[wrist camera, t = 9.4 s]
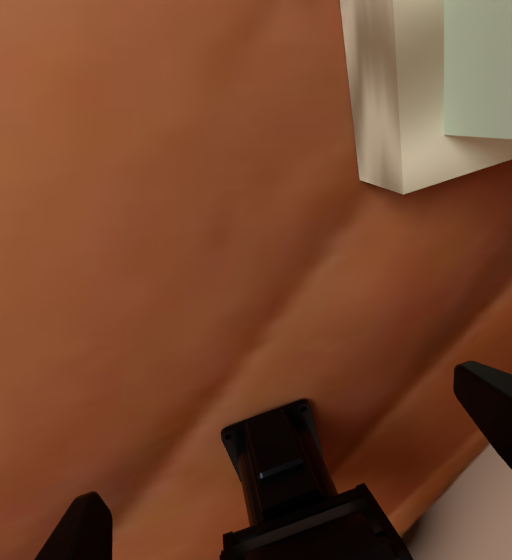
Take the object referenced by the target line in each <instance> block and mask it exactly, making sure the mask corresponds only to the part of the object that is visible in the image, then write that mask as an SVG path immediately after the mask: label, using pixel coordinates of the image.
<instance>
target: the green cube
mask: <svg viewBox="0 0 512 560" xmlns="http://www.w3.org/2000/svg"><path fill="white" fill-rule="evenodd" d="M444 135H455V136H470V137H486V138H502V139H512V0H444Z"/></svg>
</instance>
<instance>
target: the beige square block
mask: <svg viewBox="0 0 512 560" xmlns="http://www.w3.org/2000/svg"><path fill="white" fill-rule="evenodd" d="M340 7H341V16H342V25H343V34H344V43H345V52H346V61H347V70H348V79H349V88H350V97H351V106H352V115H353V124H354V133H355V142H356V151H357V160H358V169H359V178H360V180H361V181H364V182H367V183H370V184H373V185H376V186H379V187H382V188H385V189H388V190H391V191H394V192H397V193H400V194H403V195H404V194H407V193H410V192H413V191H416V190H419V189H422V188H425V187H428V186H431V185H434V184H437V183H441V182H444V181H447V180H450V179H453V178H456V177H459V176H462V175H465V174H468V173H471V172H474V171H477V170H481V169H484V168H487V167H490V166H493V165H496V164H499V163H502V162H505V161H508V160H511V159H512V139H502V138H486V137H470V136H455V135H444V0H340Z"/></svg>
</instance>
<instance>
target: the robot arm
mask: <svg viewBox="0 0 512 560" xmlns="http://www.w3.org/2000/svg"><path fill="white" fill-rule="evenodd" d="M453 389H454V393H455V396H456V397H457V399H458V400H459V402H460V403H461V404H462V406H463V407H464V409H465V410H466V411H467V413H468V414H469V415H470V417H471V418H472V419H473V421H474V422H475V423H476V425H477V426H478V428H479V429H480V430H481V432H482V433H483V434H484V436H485V437H486V438H487V440H488V441H489V442H490V444H491V445H492V446H493V448H494V449H495V450H496V452H497V453H498V454H499V455H500V456H501V458H502V459H503V460H504V461H505V462H506V463H507V465H508V466H509V467H510V468H511V469H512V375H511V374H509V373H506V372H503V371H500V370H497V369H495V368H492V367H489V366H486V365H484V364H481V363H478V362H475V361H467V362H464V363H461V364H458V365H456V367H455V369H454V385H453ZM303 406H304V407H303ZM301 407H302V408H301ZM228 434H229V435H228ZM221 439H222V441H223V444H224V446H225V448H226V450H227V452H228V455H229V457H230V459H231V461H232V464H233V466H234V468H235V470H236V472H237V475H238V477H239V479H240V481H241V483H242V488H243V493H244V498H245V503H246V508H247V514H248V519H249V524H250V527H248V528H245V529H242V530H239V531H237V532H234V533H233V532H232V531H231V532H229V533H226V534H223V548H224V550H222V551H221V555H220V556H219V557H220V560H413V558H412V556H411V554H410V553H409V551H408V549H407V547H406V546H405V544H404V542H403V541H402V539H401V538H400V536H399V535H398V533H397V532H396V530H395V529H394V527H393V525H392V524H391V522H390V521H389V519H388V518H387V516H386V515H385V513H384V512H383V510H382V509H381V507H380V506H379V504H378V503H377V501H376V500H375V498H374V497H373V495H372V494H371V492H370V491H369V489H368V488H367V486H366V485H365V483H363V484H360V485H357V486H356V488H354V489H351V490H349V491H346V492H343V493H341V494H338V492H337V490H336V487H335V485H334V483H333V481H332V478H331V476H330V474H329V472H328V469H327V467H326V465H325V463H324V460H323V454H322V451H321V447H320V443H319V439H318V435H317V431H316V427H315V423H314V419H313V415H312V411H311V407H310V405H309V403H308V401H307V400H304V399H303V400H299V401H296V402H294V403H291V404H288V405H286V406H283V407H280V408H277V409H275V410H272V411H269V412H267V413H264V414H261V415H258V416H256V417H253V418H250V419H248V420H245V421H242V422H239V423H237V424H234V425H231V426H229V427H226V428H224V429H223V430H222V431H221ZM34 560H112V515H111V512H110V510H109V508H108V507H107V506H106V504H105V503H104V501H103V500H102V498H101V497H100V496H99V494H98V493H97V492H95V491H92V492H89V493H86V494H83V495H80V496H78V497H77V498H75V500H74V501H73V502H72V503H71V505H70V506H69V508H68V509H67V511H66V512H65V514H64V515H63V517H62V518H61V520H60V521H59V523H58V525H57V526H56V528H55V529H54V531H53V532H52V534H51V535H50V537H49V538H48V540H47V541H46V543H45V544H44V546H43V547H42V549H41V550H40V552H39V553H38V555H37V556H36V558H35V559H34Z"/></svg>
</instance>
